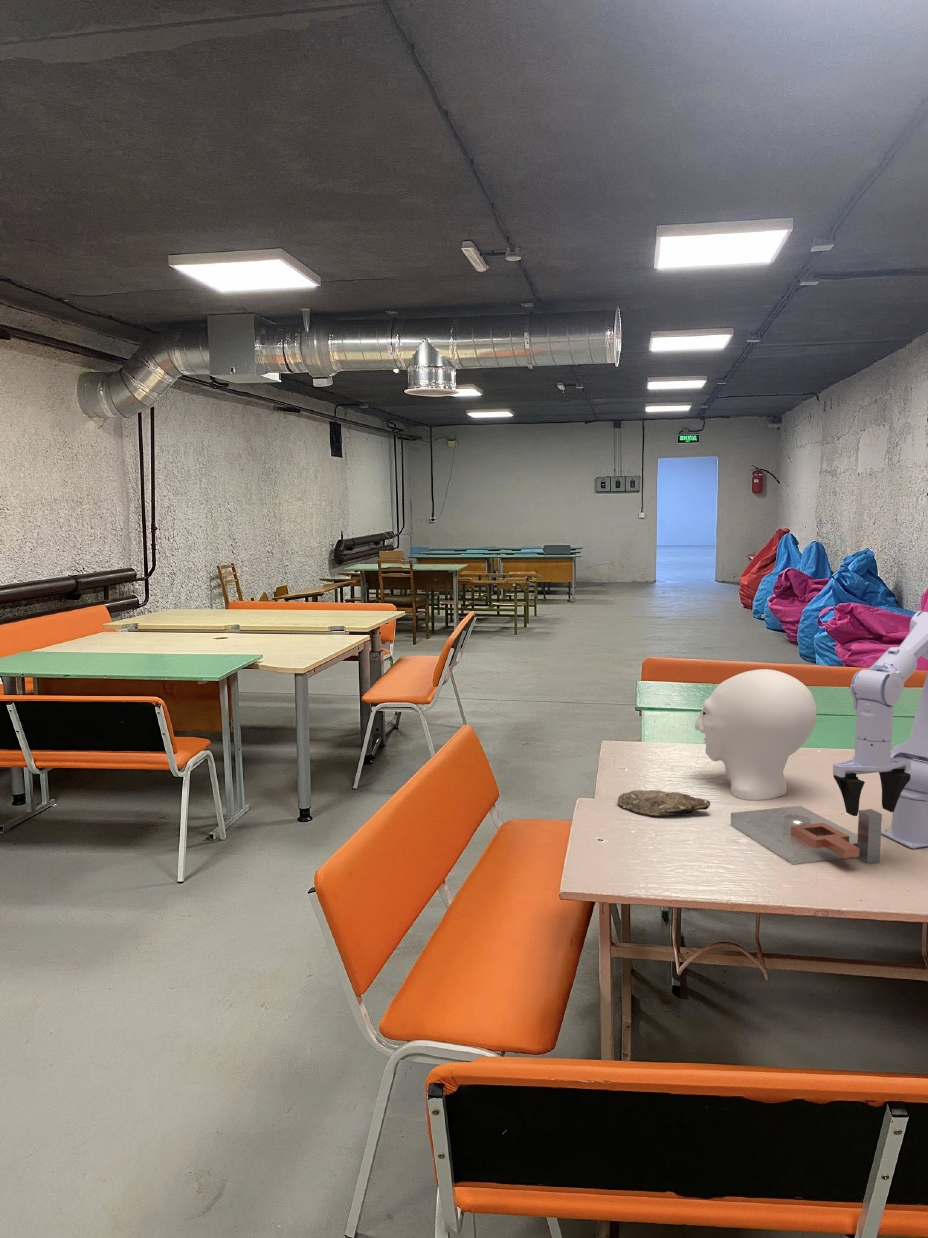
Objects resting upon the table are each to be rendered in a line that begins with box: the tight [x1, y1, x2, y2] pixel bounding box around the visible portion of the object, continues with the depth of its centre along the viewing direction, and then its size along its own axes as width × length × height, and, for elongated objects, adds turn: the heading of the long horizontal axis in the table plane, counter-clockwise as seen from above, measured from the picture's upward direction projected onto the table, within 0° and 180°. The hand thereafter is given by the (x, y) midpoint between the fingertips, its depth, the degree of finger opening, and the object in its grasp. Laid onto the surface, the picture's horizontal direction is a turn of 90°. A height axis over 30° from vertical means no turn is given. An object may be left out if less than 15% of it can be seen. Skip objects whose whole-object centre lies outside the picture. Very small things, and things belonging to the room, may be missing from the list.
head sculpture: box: [694, 668, 818, 801], centre depth 183 cm, size 17×27×28 cm, turn 52°
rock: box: [617, 789, 711, 817], centre depth 171 cm, size 18×11×4 cm, turn 87°
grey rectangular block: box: [856, 808, 883, 865], centre depth 143 cm, size 3×3×9 cm
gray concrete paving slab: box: [730, 805, 859, 865], centre depth 151 cm, size 16×25×4 cm, turn 13°
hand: (870, 812), depth 143 cm, fingers open, 7 cm apart
